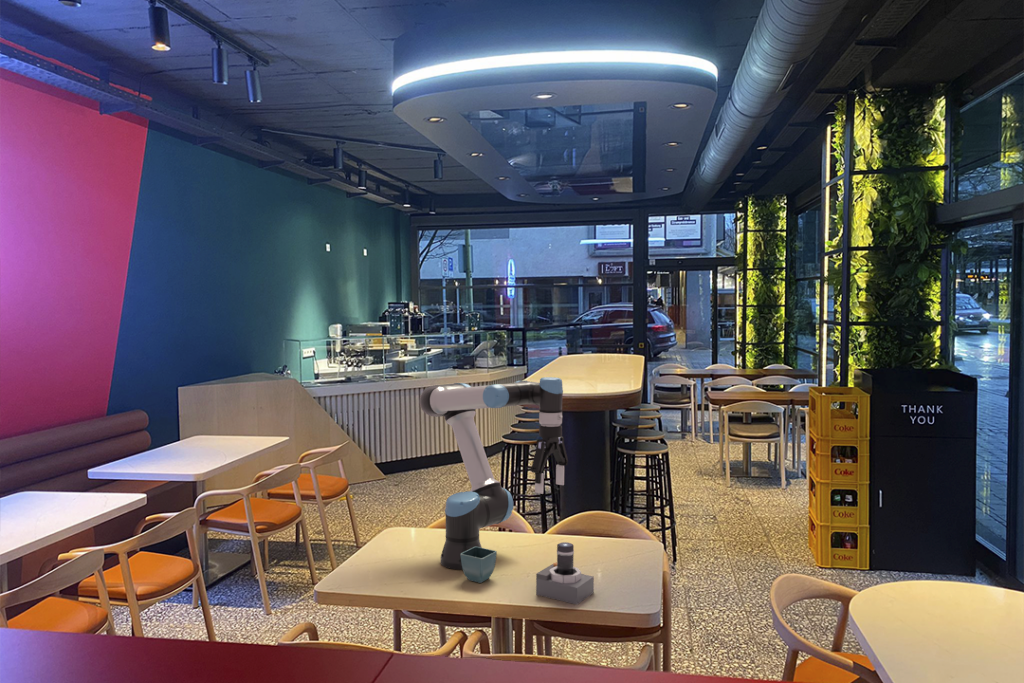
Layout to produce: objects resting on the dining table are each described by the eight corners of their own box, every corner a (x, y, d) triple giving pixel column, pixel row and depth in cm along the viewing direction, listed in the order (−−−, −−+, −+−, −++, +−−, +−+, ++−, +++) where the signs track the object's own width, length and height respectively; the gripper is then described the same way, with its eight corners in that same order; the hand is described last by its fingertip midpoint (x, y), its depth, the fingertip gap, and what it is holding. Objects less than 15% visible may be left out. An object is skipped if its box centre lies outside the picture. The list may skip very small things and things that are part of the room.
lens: (562, 581, 214) (562, 548, 214) (553, 576, 219) (553, 543, 219) (576, 578, 217) (577, 545, 216) (568, 573, 221) (568, 540, 221)
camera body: (536, 594, 217) (536, 570, 217) (554, 583, 227) (554, 560, 226) (576, 604, 210) (577, 580, 209) (593, 592, 219) (593, 569, 219)
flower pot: (482, 586, 224) (482, 558, 223) (459, 581, 228) (459, 553, 228) (497, 578, 231) (497, 550, 231) (475, 572, 236) (475, 546, 235)
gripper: (540, 431, 221) (540, 498, 222) (578, 421, 242) (577, 482, 243) (520, 428, 225) (519, 494, 226) (559, 418, 246) (558, 479, 247)
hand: (549, 488), depth 234 cm, fingers open, 13 cm apart
